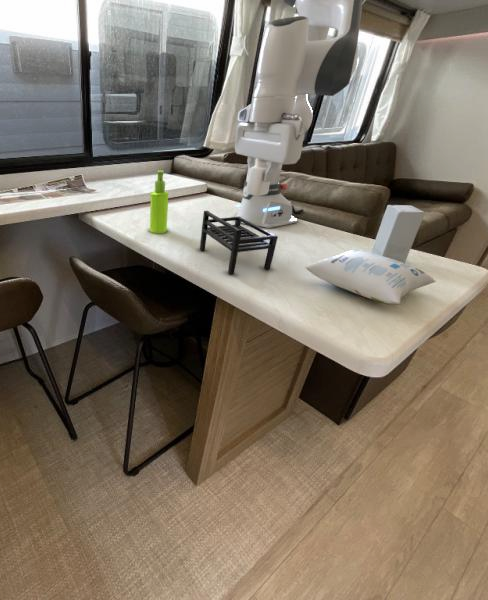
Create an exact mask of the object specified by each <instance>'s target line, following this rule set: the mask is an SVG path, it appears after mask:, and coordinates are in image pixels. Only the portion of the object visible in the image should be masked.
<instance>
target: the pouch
mask: <svg viewBox="0 0 488 600" xmlns="http://www.w3.org/2000/svg"><path fill="white" fill-rule="evenodd" d="M304 268H305V270H307V271H308V272H309V273H311V274H312V275H313V276H315V277H317V278H318V279H320V280H323V281H325V282H327V283H329V284H331V285H334V286H336V287H338V288H341V289H342V290H346V291H348V292H350V293H352V294H353V293H354V294H356V295H359V296H361V297H364V298H367V299H369V300H372V301H375V302H376V301H377V302H379V303H383V304H386V305H387V304H388V305H397V304H401V298H403V297H404V296H405V295H406V294H409V293H412V292H413V291H415V290H417V289H420V288H423V287H425V286H428V285H431V284H433V283H436V282H437V280H435V278H433V277H432V276H431V275H430V274H428V273H426V272H425V271H423V270H421V269H419V268H417V267H415V266H413V265H409V264H407V263H406V262H405V263H402V262H400V261H397V260H393V259H390V258H387V257H384V256H380V255H377V254H373V253H371V252H369V251H363V250H355V249H350V250H346V251H343V252H341V253H339V254H336V255H333V256H329V257H327V258H324V259H321V260H319V261H315V262H314V263H311V264H309V265H307V266H304Z"/></svg>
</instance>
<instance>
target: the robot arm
mask: <svg viewBox="0 0 488 600" xmlns="http://www.w3.org/2000/svg"><path fill="white" fill-rule="evenodd" d="M366 1H367V0H283V3H284V4H285V5H287V6H289V7H291V8H295V9H296V12H297V15H298V16H297V15H296V16H291V17H290V16H289V17H284V18H278V19H274V20H272V21H271V22H270V23H268V24H267V25H266V28H265V32H264V34H263V38H262V42H261V46H260V50H259V55H258V59H257V65H256V71H255V72H256V73H255V76H256V85H255V89H254V92H253V94H252V98H251V103H250V104H248V105H247V106H245V107H244V108H242V109H240V110H239V111H238V113H237V116H236V117H237V118H236V119H237V121H238V124H237V125H236V130H235V131H236V132H235V136H234V138H235V139H234V151H235V154H236V155H241V156H245V157H247V159H246V160H247V161H246V162H247V172H246V179H245V180H244V183H243V187H242V188H243V189H242V198H241V203H240V204H235V207H236V208H238V207H239V208H238V211H237V213H236V215H235V217H238V216H240V217H241V218H243V219H245V220H247V221H249V222H251V223H253V224H254V225H256V226H258V227H260V228H267V229H271V228H276V227H281V226H285V225H291V224H295V223H297V222H298V219H297V218H296V217H295V216H293V214H299V213H303V212H304V209H303V208H301V209H299V210H296V209H295V206H294V205H293V204H292V203H291V201H289V200H288V199H287V197H285V196H284V195H283V194H282V191H287V190H288V188H289V186H288V184H287V183H280V178H281V173H282V169H283V165H295V164H297V163H298V161H299V160H300V159H301V156H302V149H303V143H304V135H305V134H307V132H308V130H309V129H310V127H311V125H312V122H313V117H314V115H313V110H312V107H311V105H310V103H309V99H308V97H309V96H311V95H314V96H315V95H316V96H324V97H325V96H327V97H334V96H335V95H336V94H338V93H340V92H341V91H343V90H344V89H345V88H346V87H347V86H348V85H350V82H351V81H352V79H353V78H354V76H355V74H356V70H357V67H358V64H359V46H358V43H359V35H360V28H361V27H360V26H361V19H362V12H363V10H362V9H363V5H364V3H365V2H366ZM330 29H334V30H337V35H336V36H335V37H332V38H328V39H327V37H328V34H329V31H330ZM256 158H258V159H262V160H266V161H268V162H267V166H268V168H267V170H266V172H265V173H263V179H262V180H263V181H265V182H270V185H269V191H268V193H267V194H266V195H261V196H254V195H250V194H247V193H246V189H247V183H248V177H249V170H250V168H251V167H254V166H255V163H256V161H255V160H256ZM281 190H282V191H281ZM240 224H243V225H245V224H244V223H242V222H241V223H240Z"/></svg>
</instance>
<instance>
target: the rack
mask: <svg viewBox="0 0 488 600" xmlns="http://www.w3.org/2000/svg"><path fill="white" fill-rule="evenodd" d="M233 221H234V224H231V223H230V222H233ZM241 222H242V223H241ZM201 223H202V225H201V232H200V233H201V234H200V243H199V251H200V252H205V251H206V245H207V244H206V243H207V236H209V237H210V238H212V239H213V240H215V241H216V242H217V243H218V244H221V246H223V247H225V248H226V249H227V250H229V251H230V256H229V262H228V269H227V274H228V275H229V276H233V275H235V270H236V265H237V260H238V254H239V253H245V252H252V251H253V252H254V251H261V250H267V251H266V256H265V260H264V263H263V269H264V270H265V271H269V270H271V266H272V263H273V259H274V253H275V250H276V246H277V242H278V239H279V238H278V237H279V236H278V235H276V234H274V233H272V232H270V231H268V230H266V229H264V228H263V227H261V226H256V225H254V224H253V223H251V222H249V221H247V220H245V219H243V218H241V217H240V216H238V217H236V216H231V217H230V216H229V217H219V216H217V215H216V214H213V212H210V211H209V210H203V215H202V222H201ZM214 223H219V224H221V225H215V224H214ZM243 223H244V224H243ZM241 224H243V225H247V226H248V227H250V228H252V229H254V230H256V231H258V232H260V233H261V234H263V235H262V236H260V235H258V234H257V233H256V232H253V231H252V230H250V229H248V228H246V227H244V226H242V225H241Z"/></svg>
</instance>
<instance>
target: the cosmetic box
mask: <svg viewBox="0 0 488 600" xmlns="http://www.w3.org/2000/svg"><path fill="white" fill-rule="evenodd" d="M425 214H426V212H425V211H423V210H421V209H419V208H417V207H415V206H414V205H407V204H406V205H405V204H402V205H401V204H387V206H386V208H385V212H384V214H383V217H382V219H381V222H380V224H379V225H380V226H379V228H378V231H377V234H376V236H375V239H374V242H373V245H372V248H371V251H370V253H373V254H377V255H380V256H384V257H387V258H390V259H393V260H397V261H400V262H402V263H405V264H406V261H407V259H408V256H409V253H410V251H411V249H412V247H413V244H414V242H415V239H416V236H417V234H418V232H419V229H420V227H421V225H422V223H423V220H424V217H425Z"/></svg>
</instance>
